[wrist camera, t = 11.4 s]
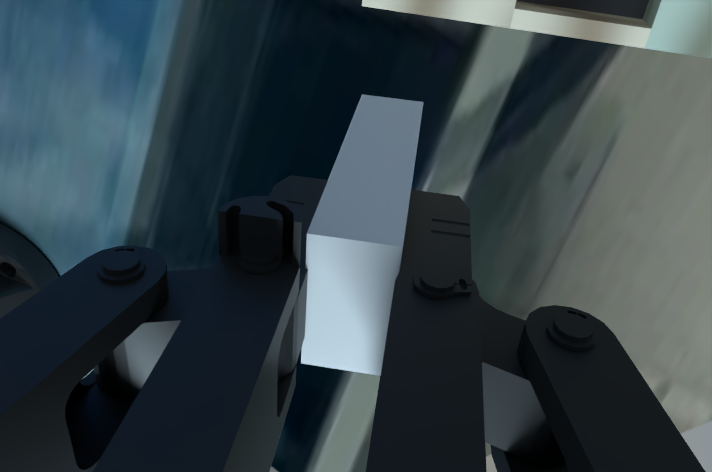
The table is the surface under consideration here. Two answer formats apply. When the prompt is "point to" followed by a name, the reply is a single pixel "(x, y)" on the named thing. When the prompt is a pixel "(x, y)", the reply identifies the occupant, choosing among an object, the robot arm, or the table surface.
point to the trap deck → (584, 19)
